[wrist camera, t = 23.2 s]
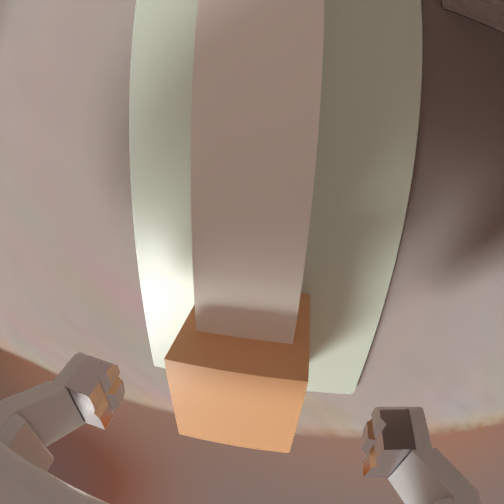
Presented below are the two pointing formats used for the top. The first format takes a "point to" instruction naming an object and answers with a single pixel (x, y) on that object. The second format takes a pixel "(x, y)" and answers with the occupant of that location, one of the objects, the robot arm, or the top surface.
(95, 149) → the top surface
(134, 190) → the pad
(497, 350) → the top surface
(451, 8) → the notched metal block
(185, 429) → the plug
